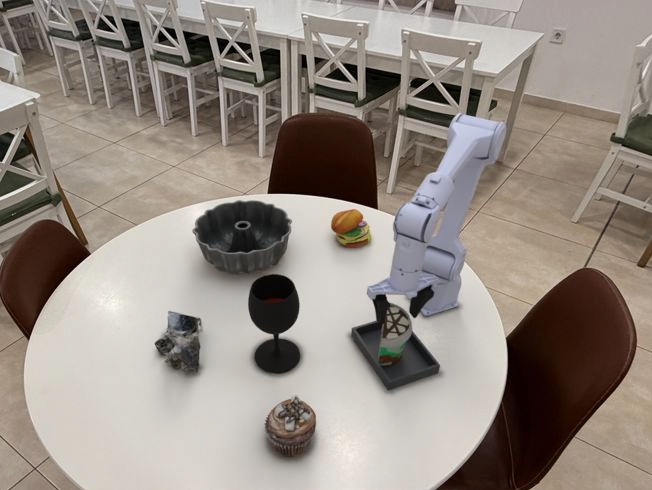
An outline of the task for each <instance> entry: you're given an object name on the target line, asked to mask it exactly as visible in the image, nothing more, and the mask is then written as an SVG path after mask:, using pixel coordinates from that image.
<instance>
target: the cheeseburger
mask: <svg viewBox="0 0 652 490" xmlns="http://www.w3.org/2000/svg"><path fill="white" fill-rule="evenodd" d="M330 228H331V230H332V232H333V233H335V236H336V240H337V241H338V242H339V244H341V245H342V246H343V247H347V248H357V247H361V246H364V245H365V244H368V243H369V242H370V241H371V240H372V233H371V230H370V225H369V224H368V222H367V221H365V220H364V215H363V214H362V213H361V211H359V210H358V209H357V208H353V209H347V210H342V211H338V212H336V213H335V214H334V215H333V216H332V218H331V223H330Z"/></svg>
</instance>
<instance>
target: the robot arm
mask: <svg viewBox="0 0 652 490" xmlns="http://www.w3.org/2000/svg"><path fill="white" fill-rule="evenodd" d="M446 134H447V135H446V141H447V143H446V148H447V150H446V151H445V154H444V155H443V158H442V159H441V162H439V165H438V167H437V169H436V171H435V172H431V173H428V174H427V175H426V176H425V178H424V179H423V180H422V182H421V184H420V185H419V187H418V188H417V190H416V191H415V193H414V194H413V196H412V197H411V198H410V201H408V202H407V203H403V204H401V205H400V206H399V208H398V209H397V211H396V213H395V215H394V219H393V223H392V231H393V237H392V240H393V241H394V242H395V244H394V250H393V255H392V259H391V260H392V261H391V267H390V272H389V276H388V277H387V278H385V279H383V280H380V281H378V282H377V283H374V284H371V285H367V289H366V295H367V297H368V298H369V300H370V301H372V304H373V306H374V312H375V319H376V320H377V321H378V323H379V324H380V325H383V324H384V321H385V316H386V312H387V310H388V308H389V306H390V305H391V304H390V303H391V302H390V301H388V297H387V295H392V296H405V297H406V298H408V299H410V302H409V303H410V304H409V307H408V312H409V313H408V314H410V315H411V317H412V318H413V319H416V318H417V317H418V316H419V314H420V313H422V315H423V316H425V317H428V316H432V315H434V314H438V313H441V312H444V311H447V310H451V309H455V308H458V307H459V303H458V298H459V295H460V291H461V287H462V277H461V272H462V270H463V268H464V265H465V261H466V260H465V259H466V256H467V250H468V249H467V248H466V246H465V245H464V244H463V242H462V241H461V240H460V234H461V232H462V229H463V226H464V223H465V220H466V217H467V215H468V213H469V209H470V207H471V204H472V201H473V197H474V195H475V192H476V190H477V188H478V187H477V186H478V185H479V182H480V178H481V176H482V173H483V172H484V169H485V168H486V166H488V165H489V166H490V165H494V164H496V162H497V160H498V158H499V156H500V152H501V150H502V147H503V144H504V141H505V139H506V135H507V125H506V122H504V121H495V120H490V119H486V118H481V117H478V116H472V115H468V114H464V112H463V113H462V112H459V113H458V114H456V115H455V116H454V117H453V118H452V120H451V122H450V124H449V127H448V129H447V133H446ZM443 210H444V211H443ZM442 211H443V215H442V218H441V212H442ZM440 220H441V221H440ZM439 221H440V223H439ZM438 223H439V227H438V230H437V233H435V231H436V228H437V226H438ZM389 302H390V303H389ZM376 320H375V321H376Z"/></svg>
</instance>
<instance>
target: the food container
mask: <svg viewBox="0 0 652 490" xmlns="http://www.w3.org/2000/svg"><path fill="white" fill-rule="evenodd" d="M388 302H389V303H390V304H391V305H390V306H389V308H388V310H387V312H386V316H385V321H384V324H383V325H382V330H381V338H380V348H379V357H378V363H379V364H380V366H381V367H382V368H384V367H390V366H392V365H395V364H396V363H397V362H398V361H399V360H400V358H401V356H402V353H403V349H404V346H405V343H406V341H407V340H408V339H409V338H410V336H411V334H412V331H413V324H412V319H411V317H410V315H409V313H408V311H406V309H404V308H403V307H401V306H400V305H398V304H395V303H393V302H390V301H388Z"/></svg>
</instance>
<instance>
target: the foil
mask: <svg viewBox="0 0 652 490" xmlns="http://www.w3.org/2000/svg"><path fill="white" fill-rule="evenodd" d="M167 313H168V314H167V327H166V328H165V330H166V332H165V335H164V336H162V337H161V338H159V339H157V340H156V341H154V346H155V348H156V350H157V352H158V353H159V355H165V357H166V358H165V360H164V363H166V364H167V365H170V366H171V368H172V369H176V368H177V369H178V368H181V371H185V372H188V371H189V370H191V369H193V370H194V371H195V374H196V373H198V371H199V368H200V355H201V354H200V352H201V344H200V338H199V334H200V333H201V332H202V333H204V330H203V328H204V327H203V323H202V318H201V317H198V316H197V317H196V316H192V315H188V314H184V313H180V312H176V311H172V310H167ZM199 328H200V330H199ZM173 330H174V331H173Z"/></svg>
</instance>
